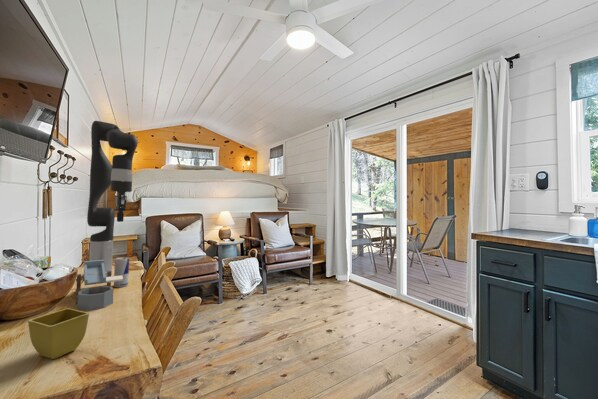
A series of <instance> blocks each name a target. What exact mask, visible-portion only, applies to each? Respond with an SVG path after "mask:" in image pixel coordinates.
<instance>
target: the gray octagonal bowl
mask: <svg viewBox="0 0 598 399" xmlns="http://www.w3.org/2000/svg"><path fill="white" fill-rule="evenodd" d="M98 286H99V287H95V286H90V287H91V288H88V287H86V288H87V289H84V290H81V291H78V304H77V310H79V311H81V310H83V311H92V310H99V309H104V308H107V307H108V306H111V305H112V304H113V303H114V288H113V287H114V286H111V287H109V286H103V285H98Z"/></svg>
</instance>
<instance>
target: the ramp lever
mask: <svg viewBox="0 0 598 399" xmlns="http://www.w3.org/2000/svg"><path fill="white" fill-rule="evenodd" d="M83 265H84V266H83V274H82V273H81V279H82V278H84V279H83V282H84V286H92V285H99V284H107V283H108V282H111V283H114V282H116V281H123V276H122V275H120V276H114V275H113V276H112V275H111V277H106V272H105V268H104V260H94V261H89V260H85V261H84V264H83Z"/></svg>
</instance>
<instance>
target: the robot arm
mask: <svg viewBox="0 0 598 399" xmlns="http://www.w3.org/2000/svg"><path fill="white" fill-rule="evenodd" d="M90 129H91V131H90V134H91V135H90V136H91V156H90V157H91V158H90V171H89V172H90V173H89V197H88V198H89V199H88V208H87V217H86V220H87V221H86V223H87V225H88V226H89V227H95V228H97V227H105V229H103V230H102V231H99V232H96V233H93V234H91V235H90V237H89V239H90V240H89V260H88V261H94V260H104V268H105V272H106V277H107V271H111V276H112V275H113V256H114V255H113V254H114V253H113V252H114V231H115V230H114V228H115V219H116V222H117V223H118V222H120V223H122V222H124V219H125V218H124V217H125V216H124V213H125V212H126V207H127V201H128V196H126V193H131V192H132V189H133V158H134V154H135V152H136V150H137V148H138V143H139V140H138V138H137V136H136V135H135V134H132V133H127V132H123V131H122V130H121V129H120V128H119V126H118V125H116V124H114V123H111V122H106V121H100V120H94V121H93V122H92V125H91V128H90ZM101 142H107V143H108V145H109V147H110V148H112V149H115V150H116V149H117V150H123V151H126V152H125V153H124V154H115V155H113V156H112V161H111V162H110V160H109V158H108V156H107V155H106V154H105V153H104V150H103V148H102V144H101ZM109 188H110V191H111V192H116V195H114V200H115V201H114V202H115V209H114V208H113V207H97V206H98V202H99V201H100V199H101V198H102V196H103V195H104V193H105V192H106V191H107V190H108V189H109ZM115 211H116V212H115Z"/></svg>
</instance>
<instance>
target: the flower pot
mask: <svg viewBox="0 0 598 399" xmlns="http://www.w3.org/2000/svg"><path fill="white" fill-rule="evenodd" d="M89 316H90V313H89V312H86V311H84V310H83V311H81V310H79V309H77V310H76V309H73V308H68V307H66V308H64V309H60V310H57V311H54V312H51V313H47V314H44V315H41V316H37V317H34V318H30V319H28V320H27V324H28V325H27V326H28V331H29V337H30V341H31V345H32V346H33V348H34V350H35V351H36V352H37V353H38V354H39V355H40V356H42V357H45V358H48V359H51V360H54V359H55V360H56V359H57V358H60V357H62V356H64V355H66V354H68V353H71V352H73V351H76V349H77V348H78V347H79V346H80V344H81V343H82V342H83V340H84V338H85V336H86V332H87V327H88V322H89Z"/></svg>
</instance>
